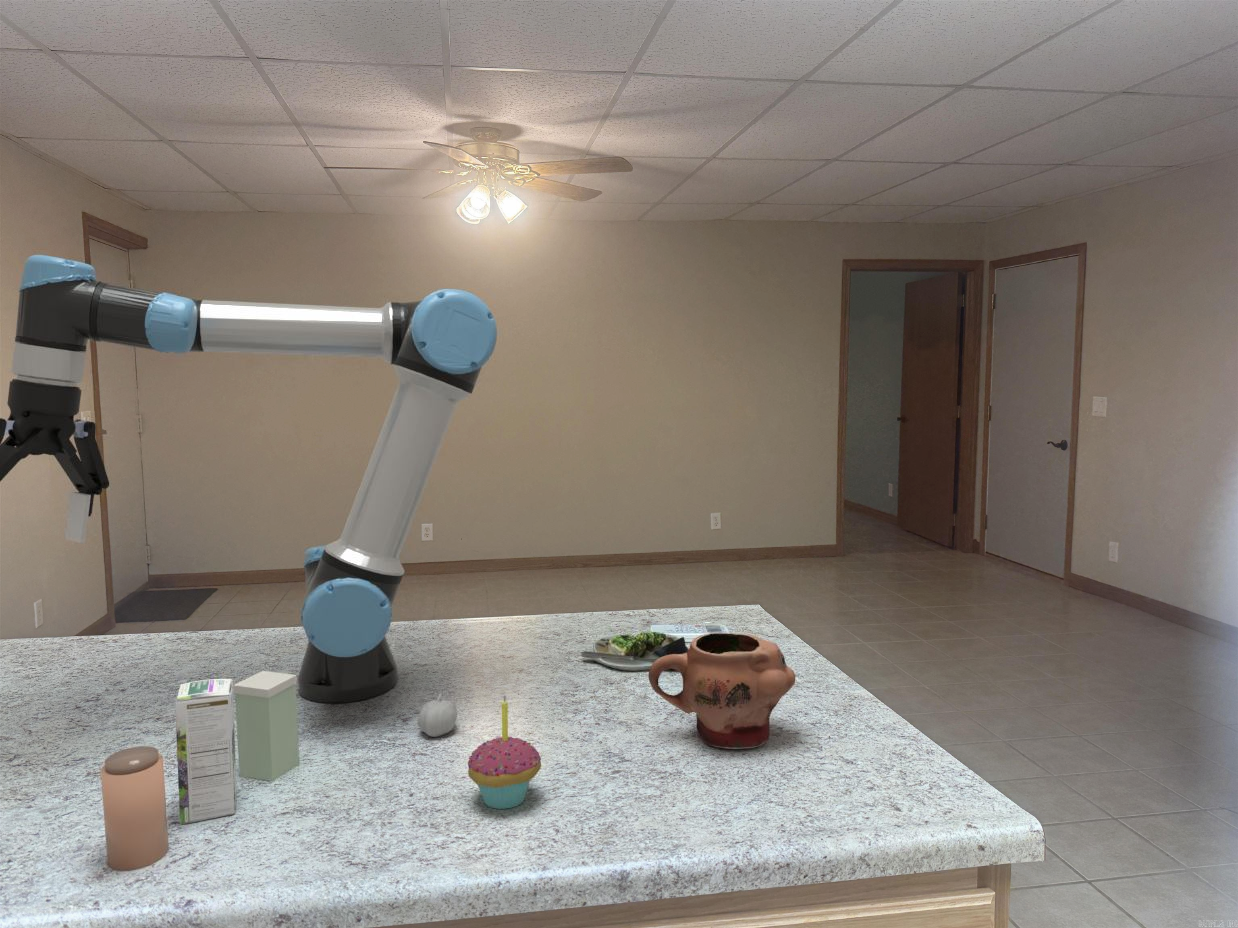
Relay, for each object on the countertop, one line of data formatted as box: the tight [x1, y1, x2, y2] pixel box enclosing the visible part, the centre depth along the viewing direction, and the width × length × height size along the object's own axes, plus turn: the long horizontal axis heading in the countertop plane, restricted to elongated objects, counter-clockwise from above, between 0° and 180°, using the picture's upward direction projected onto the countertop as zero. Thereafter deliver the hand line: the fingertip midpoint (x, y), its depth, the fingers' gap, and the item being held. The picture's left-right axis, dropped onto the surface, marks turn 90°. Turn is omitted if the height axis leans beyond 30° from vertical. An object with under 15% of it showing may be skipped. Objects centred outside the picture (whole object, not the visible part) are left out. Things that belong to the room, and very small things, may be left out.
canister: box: [100, 745, 170, 872], centre depth 88 cm, size 6×6×11 cm
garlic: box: [417, 693, 458, 738], centre depth 118 cm, size 6×5×5 cm
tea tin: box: [233, 670, 300, 783], centre depth 106 cm, size 5×5×12 cm
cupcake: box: [467, 694, 542, 810], centre depth 99 cm, size 9×8×12 cm
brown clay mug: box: [648, 632, 796, 750], centre depth 115 cm, size 20×12×14 cm, turn 97°
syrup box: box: [174, 678, 238, 825], centre depth 97 cm, size 6×6×14 cm
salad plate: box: [580, 631, 689, 672], centre depth 148 cm, size 19×18×5 cm
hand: (27, 546), depth 107 cm, fingers open, 13 cm apart
